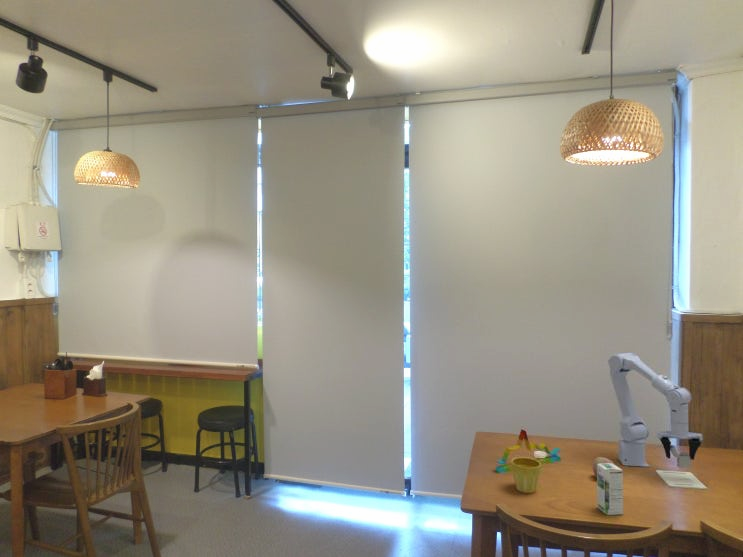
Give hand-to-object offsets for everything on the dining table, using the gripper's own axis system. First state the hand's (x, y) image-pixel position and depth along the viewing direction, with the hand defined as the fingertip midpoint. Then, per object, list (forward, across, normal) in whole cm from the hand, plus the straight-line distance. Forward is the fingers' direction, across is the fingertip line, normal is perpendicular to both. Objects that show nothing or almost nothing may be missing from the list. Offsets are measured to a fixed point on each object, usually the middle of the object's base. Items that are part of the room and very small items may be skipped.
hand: (679, 458), depth 181 cm
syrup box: (+8, -31, -30) cm, 44 cm away
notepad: (+8, 0, 0) cm, 8 cm away
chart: (+9, -53, +5) cm, 54 cm away
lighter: (+3, 0, 0) cm, 4 cm away
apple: (+8, -27, -4) cm, 29 cm away
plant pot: (+8, -56, -18) cm, 59 cm away
